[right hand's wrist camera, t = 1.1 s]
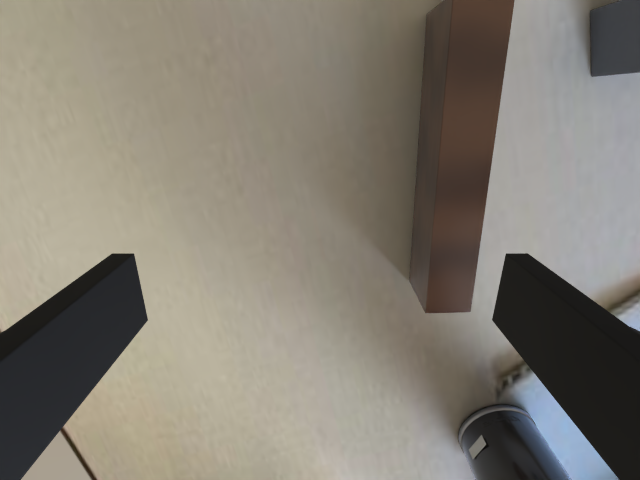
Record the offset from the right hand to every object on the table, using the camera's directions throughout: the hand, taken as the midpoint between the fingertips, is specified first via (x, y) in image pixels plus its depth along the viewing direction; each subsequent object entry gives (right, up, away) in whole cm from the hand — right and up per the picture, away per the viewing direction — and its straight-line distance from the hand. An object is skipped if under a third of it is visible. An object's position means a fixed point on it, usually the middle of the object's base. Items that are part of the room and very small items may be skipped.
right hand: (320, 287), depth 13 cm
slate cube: (+24, +18, +16) cm, 34 cm away
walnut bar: (+11, +9, +20) cm, 24 cm away
